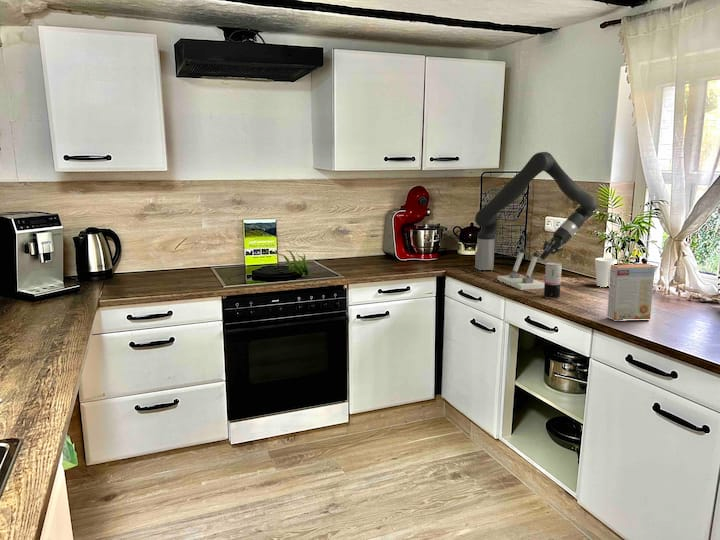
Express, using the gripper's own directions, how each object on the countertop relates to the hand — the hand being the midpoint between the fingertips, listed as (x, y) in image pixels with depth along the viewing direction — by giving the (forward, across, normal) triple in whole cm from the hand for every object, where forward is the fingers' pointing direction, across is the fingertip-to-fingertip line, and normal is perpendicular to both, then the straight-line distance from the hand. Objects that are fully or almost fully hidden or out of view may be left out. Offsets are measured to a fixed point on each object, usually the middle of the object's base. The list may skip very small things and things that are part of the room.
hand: (541, 258), depth 258 cm
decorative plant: (+89, -65, -70) cm, 131 cm away
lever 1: (+11, -12, +1) cm, 16 cm away
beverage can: (+15, +21, +4) cm, 26 cm away
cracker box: (+10, +59, +9) cm, 60 cm away
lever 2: (+11, 0, +1) cm, 11 cm away
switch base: (+14, -6, +4) cm, 16 cm away
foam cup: (-10, +10, +29) cm, 33 cm away
